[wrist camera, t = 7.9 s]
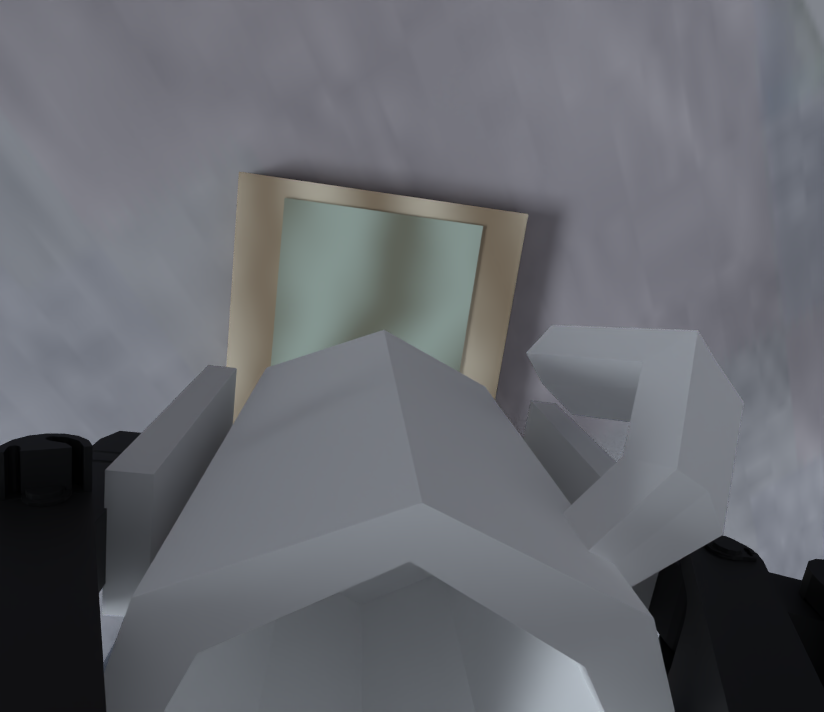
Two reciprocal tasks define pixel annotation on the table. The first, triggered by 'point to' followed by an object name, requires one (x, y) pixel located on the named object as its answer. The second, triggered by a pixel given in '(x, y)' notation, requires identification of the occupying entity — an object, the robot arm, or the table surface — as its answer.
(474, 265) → the square hole base block
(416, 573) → the mug
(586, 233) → the table surface
